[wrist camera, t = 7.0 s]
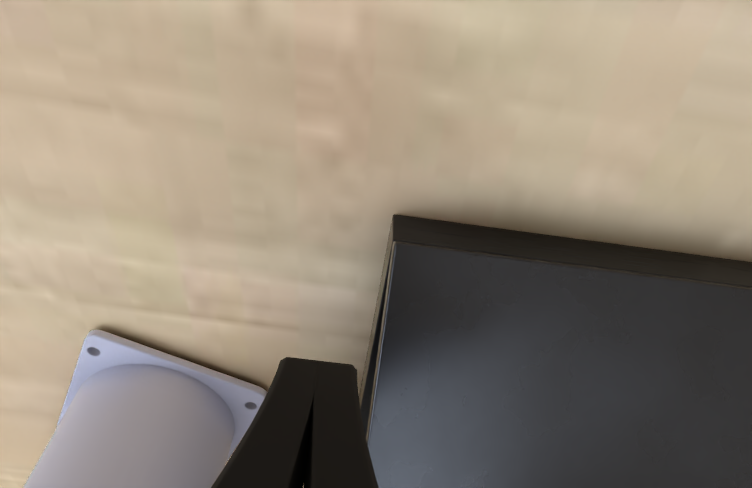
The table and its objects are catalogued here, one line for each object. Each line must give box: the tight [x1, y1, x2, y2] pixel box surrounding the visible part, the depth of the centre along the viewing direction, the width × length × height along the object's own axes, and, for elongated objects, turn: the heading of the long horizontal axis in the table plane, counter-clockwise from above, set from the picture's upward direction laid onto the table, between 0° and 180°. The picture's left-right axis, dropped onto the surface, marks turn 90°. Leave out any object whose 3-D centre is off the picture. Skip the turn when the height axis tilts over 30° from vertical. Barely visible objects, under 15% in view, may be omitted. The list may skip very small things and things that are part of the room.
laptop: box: [359, 215, 752, 436], centre depth 27 cm, size 21×30×2 cm
